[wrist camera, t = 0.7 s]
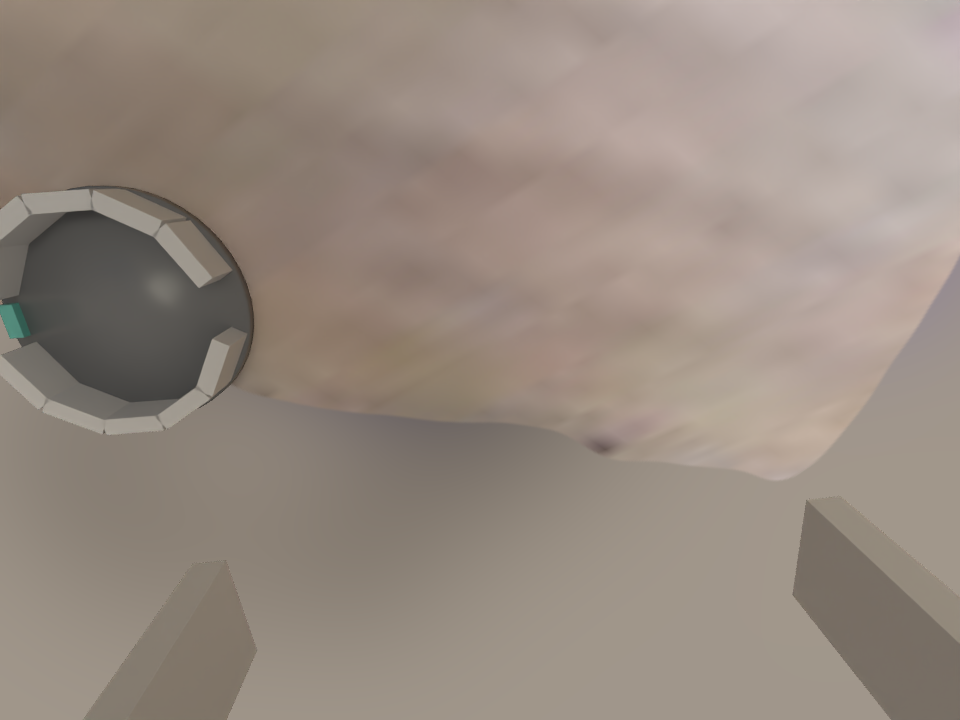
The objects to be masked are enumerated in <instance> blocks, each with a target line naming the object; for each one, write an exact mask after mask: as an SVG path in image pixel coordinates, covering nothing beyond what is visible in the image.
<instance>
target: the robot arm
mask: <svg viewBox="0 0 960 720" xmlns="http://www.w3.org/2000/svg"><path fill="white" fill-rule="evenodd" d="M793 596H794V597H795V598H796V600H797V601H798V602H799V603H800V605H801V606H802V607H803V609H804V610H805V611H806V612H807V613H808V615H809V616H810V618H811V619H812V620H813V621H814V622H815V624H816V625H817V626H818V628H819V629H820V630H821V631H822V633H823V634H824V635H825V637H826V638H827V639H828V640H829V642H830V643H831V644H832V645H833V647H834V648H835V649H836V650H837V652H838V653H839V654H840V656H841V657H842V658H843V659H844V661H845V662H846V663H847V664H848V666H849V667H850V668H851V669H852V671H853V672H854V673H855V675H856V676H857V677H858V678H859V680H860V681H861V682H862V683H863V685H864V686H865V687H866V688H867V690H868V691H869V692H870V694H871V695H872V696H873V697H874V699H875V700H876V701H877V702H878V704H879V705H880V706H881V707H882V709H883V710H884V711H885V712H886V714H887V715H888V716H889V717H890V719H891V720H960V597H959V596H958V595H957V594H956V593H955V592H953V591H952V590H951V589H950V588H948V587H947V586H946V585H945V584H944V583H943V582H942V581H940V580H939V579H938V578H937V577H936V576H934V575H933V574H932V573H931V572H930V571H928V570H927V569H926V568H925V567H924V566H923V565H921V564H920V563H919V562H918V561H917V560H916V559H914V558H913V557H912V556H911V555H910V554H908V553H907V552H906V551H905V550H904V549H902V548H901V547H900V546H899V545H898V544H897V543H895V542H894V541H893V540H892V539H890V538H889V537H888V536H887V535H886V534H885V533H884V532H882V531H881V530H880V529H879V528H878V527H876V526H875V525H874V524H873V523H871V522H870V521H869V520H868V519H867V518H866V517H865V516H863V515H862V514H861V513H860V512H859V511H857V510H856V509H855V508H854V507H853V506H851V505H850V504H849V503H848V502H847V501H846V500H844V499H843V498H842V497H841V496H837V497H829V498H819V499H809V500H806V506H805V513H804V520H803V526H802V533H801V540H800V547H799V554H798V561H797V568H796V575H795V582H794V589H793ZM256 652H257V649H256V646H255V643H254V640H253V637H252V634H251V631H250V629H249V625H248V622H247V620H246V617H245V614H244V611H243V608H242V605H241V602H240V599H239V596H238V593H237V591H236V588H235V585H234V582H233V579H232V576H231V573H230V570H229V567H228V564H227V562H226V560H225V561H215V562H205V563H196V564H192V565H191V567H190V568H189V570H188V571H187V572H186V574H185V575H184V577H183V578H182V579H181V581H180V582H179V584H178V585H177V587H176V588H175V589H174V591H173V592H172V594H171V595H170V597H169V598H168V600H167V601H166V603H165V604H164V605H163V606H162V608H161V609H160V611H159V612H158V614H157V615H156V616H155V618H154V619H153V621H152V622H151V624H150V625H149V626H148V628H147V629H146V631H145V632H144V634H143V635H142V636H141V638H140V639H139V641H138V642H137V644H136V645H135V646H134V648H133V649H132V651H131V652H130V653H129V655H128V656H127V658H126V659H125V661H124V662H123V663H122V665H121V666H120V668H119V669H118V671H117V672H116V674H115V675H114V676H113V678H112V679H111V680H110V682H109V683H108V685H107V686H106V688H105V689H104V691H103V692H102V693H101V695H100V696H99V698H98V699H97V700H96V702H95V703H94V705H93V706H92V708H91V709H90V710H89V712H88V713H87V715H86V716H85V717H84V719H83V720H227V718H228V715H229V713H230V711H231V709H232V706H233V704H234V701H235V699H236V697H237V695H238V692H239V690H240V688H241V686H242V683H243V681H244V679H245V676H246V674H247V672H248V670H249V667H250V665H251V663H252V661H253V658H254V656H255V654H256Z"/></svg>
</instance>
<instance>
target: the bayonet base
mask: <svg viewBox="0 0 960 720" xmlns="http://www.w3.org/2000/svg"><path fill="white" fill-rule="evenodd" d="M1 299H2V302H3V304H2V305H0V315H1V317H2V320H3V322H4V325H5V327H6V329H7V332H8V335H9V337H10V338H17V339H18V341H19V343H20V344H21V346H22V347H21V348H18V349H16V350H13V351H10V352H8V353H5V354H2V355H0V375H1V376H2V377H3V378H4V379H5V380H6V381H7V382H8V383H9V384H10V385H11V386H13V387H14V388H15V389H16V390H17V391H18V392H19V393H20V394H21V395H23V396H24V397H25V398H26V399H27V400H28V401H29V402H30V403H31V404H32V405H33V406H34V407H36V408H37V409H38V410H39V409H41V408H43V411H42V412H43V413H45V414H48V415H51V416H53V417H56V418H59V419H61V420H64V421H67V422H70V423H72V424H75V425H78V426H81V427H83V428H86V429H89V430H91V431H94V432H97V433H99V434H104V433H105V432H106V435H114V434H128V433H141V432H153V431H164V430H165V429H169V428H170V427H172V426H173V425H175V424H176V423H177V422H179V421H180V420H182V419H183V418H184V417H186V416H187V415H189V414H190V413H192V412H193V411H194V410H196V409H198V408H200V407H202V406H203V405H205V404H207V403H208V402H210V401H212V400H213V399H214V398H215V397H217V396H218V395H219V394H220V393H221V392H223V391H224V390H225V389H226V388H227V387H228V386H229V385H230V384H231V383H232V382H233V381H234V380H235V378H236V377H237V376H238V374H239V373H240V371H241V369H242V368H243V366H244V364H245V362H246V359H247V357H248V355H249V351H250V348H251V344H252V338H253V330H254V318H253V308H252V302H251V297H250V294H249V290H248V287H247V284H246V282H245V279H244V277H243V275H242V272H241V270H240V268H239V267H238V265H237V263H236V261H235V260H234V258H233V256H232V255H231V253H230V252H229V251H228V249H227V248H226V247H225V245H224V244H223V243H222V241H221V240H220V239H219V238H218V237H217V236H216V235H215V234H214V233H213V232H212V231H211V230H210V229H209V228H208V227H207V226H206V225H205V224H203V223H202V222H201V221H200V220H199V219H198V218H196V217H195V216H193V215H192V214H191V213H189V212H188V211H186V210H185V209H183V208H182V207H180V206H178V205H176V204H174V203H172V202H170V201H168V200H167V199H164V198H162V197H159V196H157V195H154V194H151V193H149V192H145V191H141V190H137V189H133V188H127V187H119V186H86V187H79V188H72V189H68V190H65V191H55V192H41V193H28V194H21V196H16V197H14V198H13V199H12V200H11V201H10V202H9V203H8V204H6V205H5V206H4V207H3V208H2V209H1V210H0V300H1Z"/></svg>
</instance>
